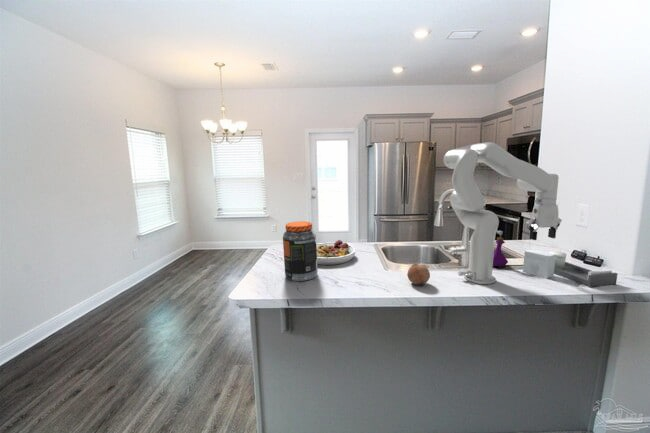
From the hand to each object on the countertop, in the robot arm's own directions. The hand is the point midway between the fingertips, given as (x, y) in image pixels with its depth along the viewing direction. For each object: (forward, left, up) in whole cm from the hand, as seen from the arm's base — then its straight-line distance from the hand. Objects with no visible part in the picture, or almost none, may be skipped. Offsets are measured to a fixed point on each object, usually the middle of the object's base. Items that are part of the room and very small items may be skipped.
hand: (542, 238), depth 136 cm
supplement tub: (-109, +22, -17) cm, 113 cm away
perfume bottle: (-10, +14, -17) cm, 24 cm away
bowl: (-91, +47, -18) cm, 104 cm away
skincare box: (0, 0, -17) cm, 17 cm away
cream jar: (+14, +4, -16) cm, 22 cm away
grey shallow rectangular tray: (+14, -4, -17) cm, 22 cm away
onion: (-59, +1, -17) cm, 62 cm away
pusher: (+14, -16, -16) cm, 26 cm away
